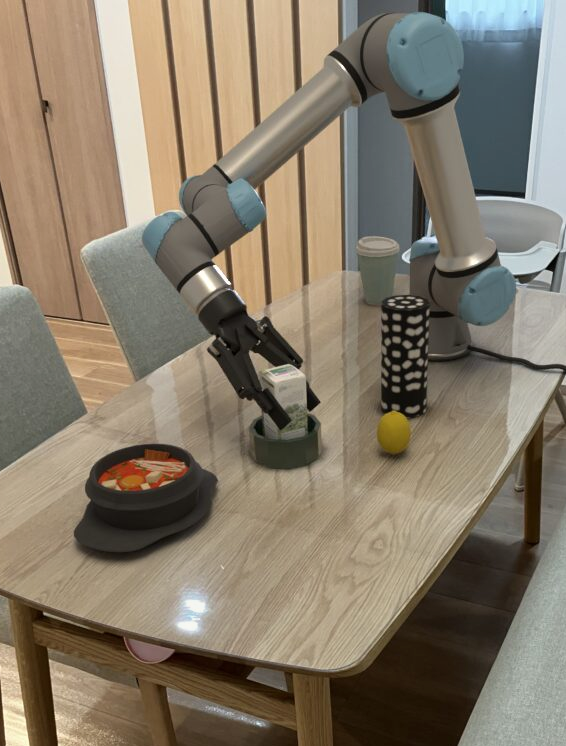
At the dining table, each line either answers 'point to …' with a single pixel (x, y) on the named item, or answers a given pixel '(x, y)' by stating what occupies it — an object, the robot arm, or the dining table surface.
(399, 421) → the lemon
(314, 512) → the dining table surface
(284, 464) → the crock
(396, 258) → the disposable coffee cup
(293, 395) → the syrup box
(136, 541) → the casserole
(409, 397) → the white-spotted black cylinder
